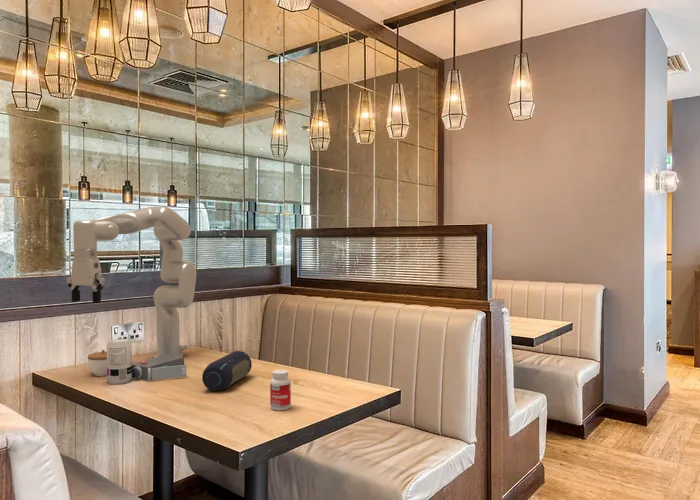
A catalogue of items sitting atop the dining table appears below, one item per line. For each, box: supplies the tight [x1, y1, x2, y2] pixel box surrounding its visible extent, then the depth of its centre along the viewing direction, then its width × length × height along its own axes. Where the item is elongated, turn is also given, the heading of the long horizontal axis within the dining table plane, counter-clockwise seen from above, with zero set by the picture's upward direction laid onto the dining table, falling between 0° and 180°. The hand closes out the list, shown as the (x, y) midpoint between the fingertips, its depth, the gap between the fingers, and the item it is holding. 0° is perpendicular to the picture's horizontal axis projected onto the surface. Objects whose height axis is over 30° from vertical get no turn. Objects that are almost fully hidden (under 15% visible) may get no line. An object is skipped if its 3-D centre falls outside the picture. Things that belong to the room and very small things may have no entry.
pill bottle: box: [269, 369, 292, 411], centre depth 156 cm, size 6×6×11 cm
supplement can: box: [106, 338, 133, 385], centre depth 187 cm, size 8×8×15 cm
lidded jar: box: [87, 349, 107, 377], centre depth 198 cm, size 11×11×9 cm
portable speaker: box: [201, 350, 253, 392], centre depth 183 cm, size 25×10×10 cm, turn 169°
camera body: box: [131, 355, 185, 382], centre depth 197 cm, size 19×12×6 cm, turn 154°
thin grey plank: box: [151, 364, 188, 381], centre depth 190 cm, size 12×1×4 cm, turn 114°
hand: (86, 301), depth 186 cm, fingers open, 9 cm apart
